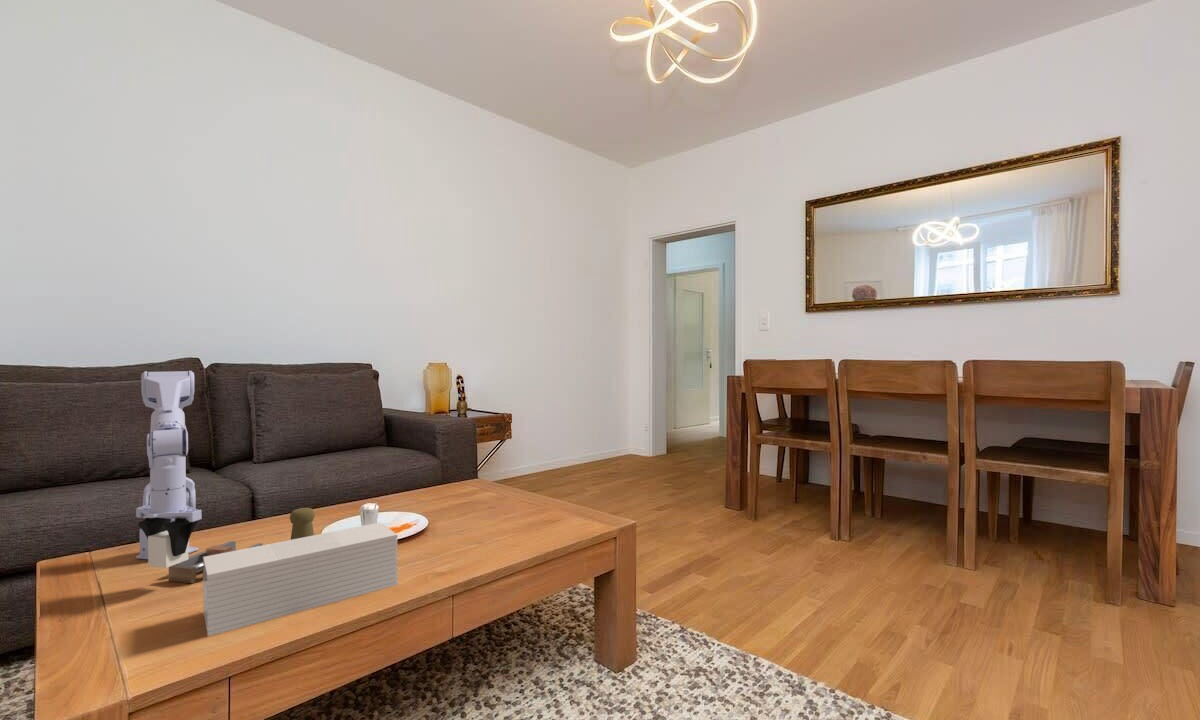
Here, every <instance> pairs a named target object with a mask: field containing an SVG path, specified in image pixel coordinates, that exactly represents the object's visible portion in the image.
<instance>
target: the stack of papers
mask: <svg viewBox="0 0 1200 720" xmlns="http://www.w3.org/2000/svg"><path fill="white" fill-rule="evenodd" d="M398 550H399V549H398V534H397V533H396V532H394V531H393V530H392V529H390V528H389V527H388V526H386V525H385V524H384V523H383V522H377V523H375V524H370V525H364V526H362V525H360V526H355V527H350V528H344V529H341V530H334V531H329V532H325V533H319V534H314V535H313V536H308V537H303V538H298V539H293V540H291V539H287V540H282V541H279V542H278V541H277V542H272V543H269V544H267V543H266V544H263V545H262V546H257V547H252V548H248V547H246V548H242V549H236V551H231V552H226V553H221V554H216V555H211V556H205V557H203V570H202V582H203V587H202V588H203V589H202V590H203V591H202V592H203V595H202V596H203V599H202V600H203V602H202V603H203V617H204V623H205V629H206V635H207V637H211V636H215V635H218V634H222V633H227V632H230V631H233V630H237V629H240V628H243V627H248V626H253V625H255V624H258V623H262V622H266V621H271V620H273V619H276V618H277V619H278V618H280V617H285V616H288V615H292V614H295V613H299V612H302V611H306V610H310V609H314V608H318V607H321V606H325V605H329V604H332V603H336V602H339V601H344V600H347V599H351V598H354V597H358V596H361V595H362V596H363V595H365V594H368V593H369V594H370V593H373V592H376V591H379V590H380V591H381V590H384V589H388V588H390V587H395V586H398V585H399V581H398V580H399V579H398V576H399V575H398V574H399V573H398V566H399V565H398V562H399V561H398V557H399V556H398V555H399V554H398ZM203 578H204V579H203Z"/></svg>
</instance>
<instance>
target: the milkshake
mask: <svg viewBox="0 0 1200 720" xmlns="http://www.w3.org/2000/svg"><path fill="white" fill-rule="evenodd" d="M379 510H380V508H379V505H378V501H376V502H374V503H372V502H367V503H365V504H362V505H361V506H360V507H359V515H360V522H361V523H360V524H361V525H360V526H364V525H370V524H375V523H378V517H379Z"/></svg>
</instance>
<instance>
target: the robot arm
mask: <svg viewBox="0 0 1200 720" xmlns="http://www.w3.org/2000/svg"><path fill="white" fill-rule="evenodd" d="M140 379H141V382H140V383H141V384H140V385H141V388H140V389H141V396H142V402H143V404H144V406H145V407H147V408H151V409H154V411H153V412H152V413H151V415H150V431H149V433H147V435H146V454H147V458H148V468H149V469H150V470H149V476H150V477H149V483H148V484H146V486H145V487H144V488H143V495H142V505H141V506H139V507H136V508H135V517H136V518H143V520H140V521H138V525H137V526H138V527H139V528H140V529H139V554H138V555H136V556H135V559H141V560H148V536H151V535H154V534H157V533H160V532H164V531H168V533H169V536H170V540H171V550H172V554H173V556H178V555H181V554H183V553H185V551H186V548H187V544H188V554H191V553H194V552H196V551H198V550H199V549H200V548H199V547H196V546H190V537H191V535H192V533H193V531H194V529H195V528H196V525H197V524H198V522H199V520H203V517H202V512H203V511H202V509H197V508H196V505H197V503H196V502H197V500H196V499H197V498H196V497H197V496H196V488H195V485H196V484H195V482H194V480H193V479H191V478H189V477H188V476H186V475H187V472H186V470H187V469H186V466H187V465H186V464H187V463H186V461H187V460H186V456H187V455H188V453H189V432H188V430H187V425H186V416H185V415H186V414H185V412H184V410H183V409H184V408H185V407H188V406H190V405H192V404H193V401H194V399H195V397H194V396H195V372H193V371H192V370H186V371H184V370H183V371H182V370H181V371H179V370H178V371H147V370H145V371H144V372H142V373H141V378H140ZM183 452H185V454H184V453H183Z"/></svg>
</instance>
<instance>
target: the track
mask: <svg viewBox="0 0 1200 720" xmlns="http://www.w3.org/2000/svg"><path fill="white" fill-rule="evenodd" d="M236 544H237V542H236V540H230V541H227V542H225V543H222V544H220V545H218V546H224V547H232V551H236V550H237V549H236V548H237V547H236V546H237V545H236ZM262 545H264V544H263V543H259V542H258V543H256V544H252V545H251V546H249V547H247V548H252V547H257V546H262ZM205 556H206V550H204V551H202V552H199V553H198V552H197V553H196V554H192V555H191V556H189V559H188V560H186V561H183V562H180V563H178V564H175V565H181V566H190V567H191V566H193V565H196V564H198V563H201V562H203V557H205ZM203 579H204V578H203V577H202V580H203Z"/></svg>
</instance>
